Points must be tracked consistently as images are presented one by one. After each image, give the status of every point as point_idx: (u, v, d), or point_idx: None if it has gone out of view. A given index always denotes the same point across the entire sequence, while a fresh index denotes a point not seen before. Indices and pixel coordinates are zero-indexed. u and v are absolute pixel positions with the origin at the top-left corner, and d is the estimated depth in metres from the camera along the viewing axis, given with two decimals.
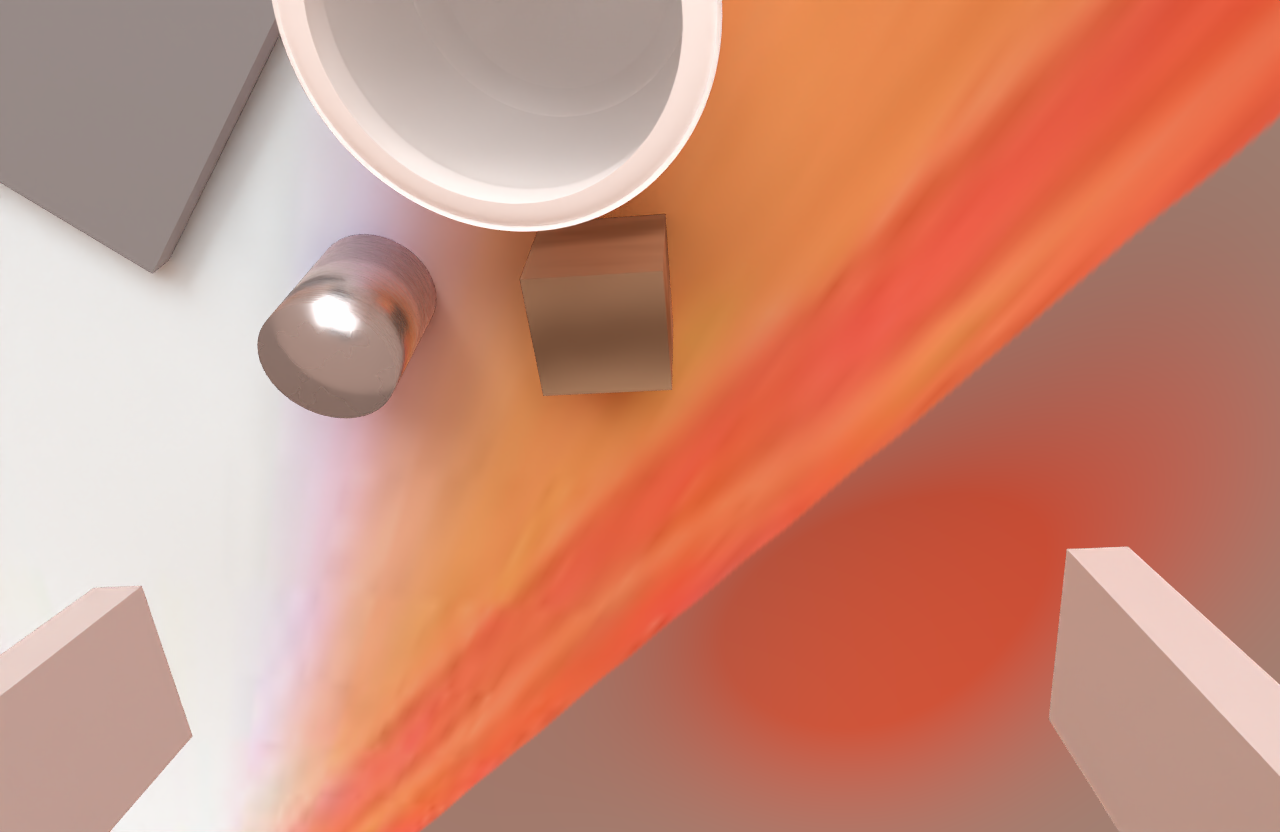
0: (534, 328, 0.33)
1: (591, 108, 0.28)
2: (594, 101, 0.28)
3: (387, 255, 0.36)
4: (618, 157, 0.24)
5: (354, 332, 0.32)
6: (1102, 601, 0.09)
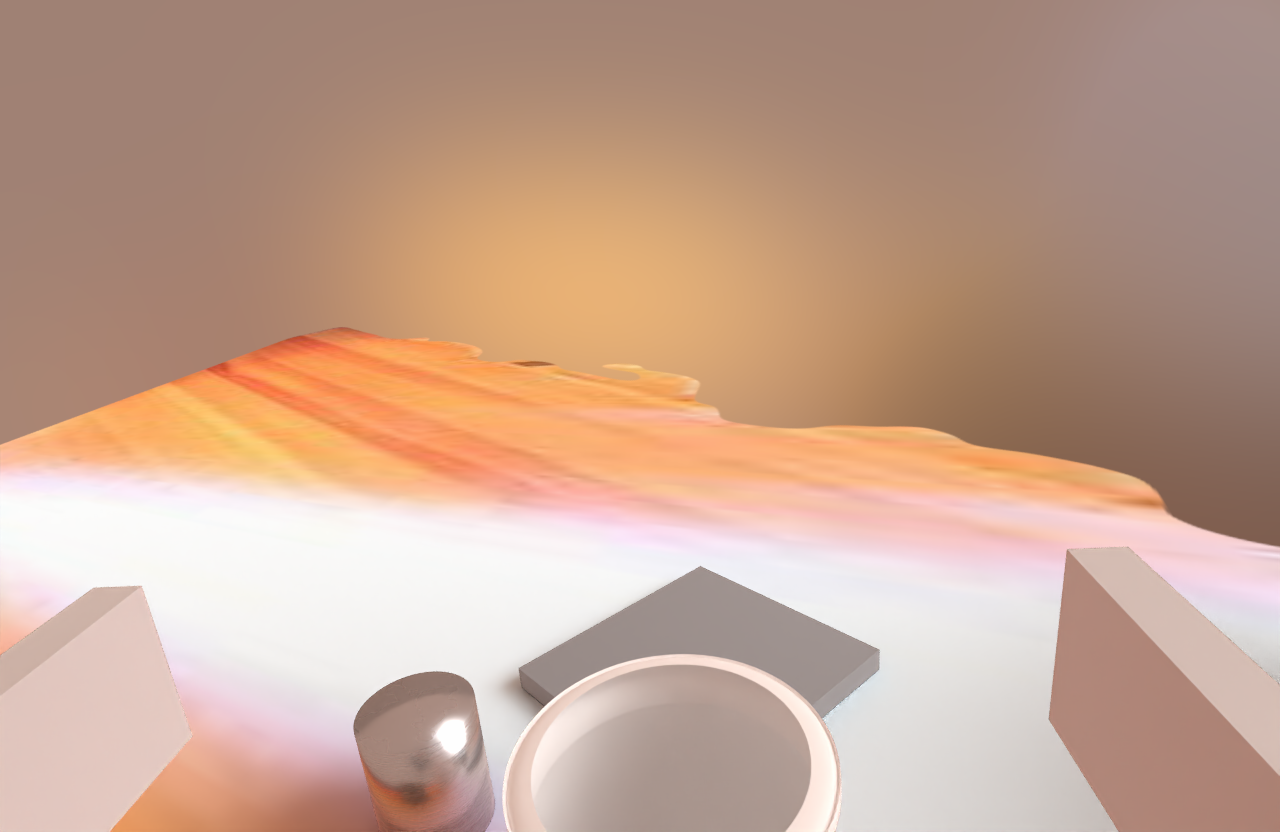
0: None
1: None
2: None
3: (470, 820, 0.39)
4: None
5: (432, 733, 0.37)
6: (1102, 601, 0.09)
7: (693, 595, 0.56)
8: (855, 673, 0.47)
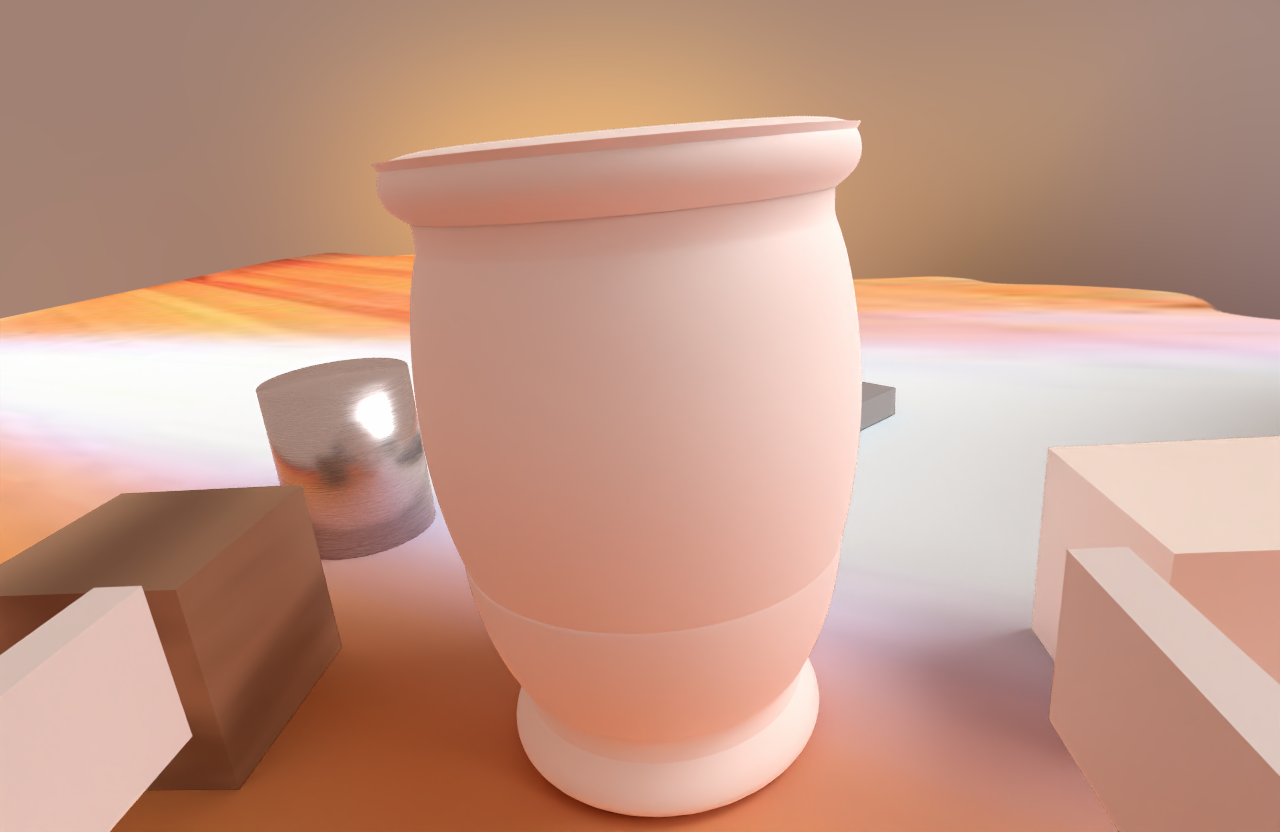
0: (225, 491, 0.23)
1: None
2: None
3: (400, 511, 0.32)
4: None
5: (350, 386, 0.30)
6: (1102, 601, 0.09)
7: None
8: (867, 405, 0.40)
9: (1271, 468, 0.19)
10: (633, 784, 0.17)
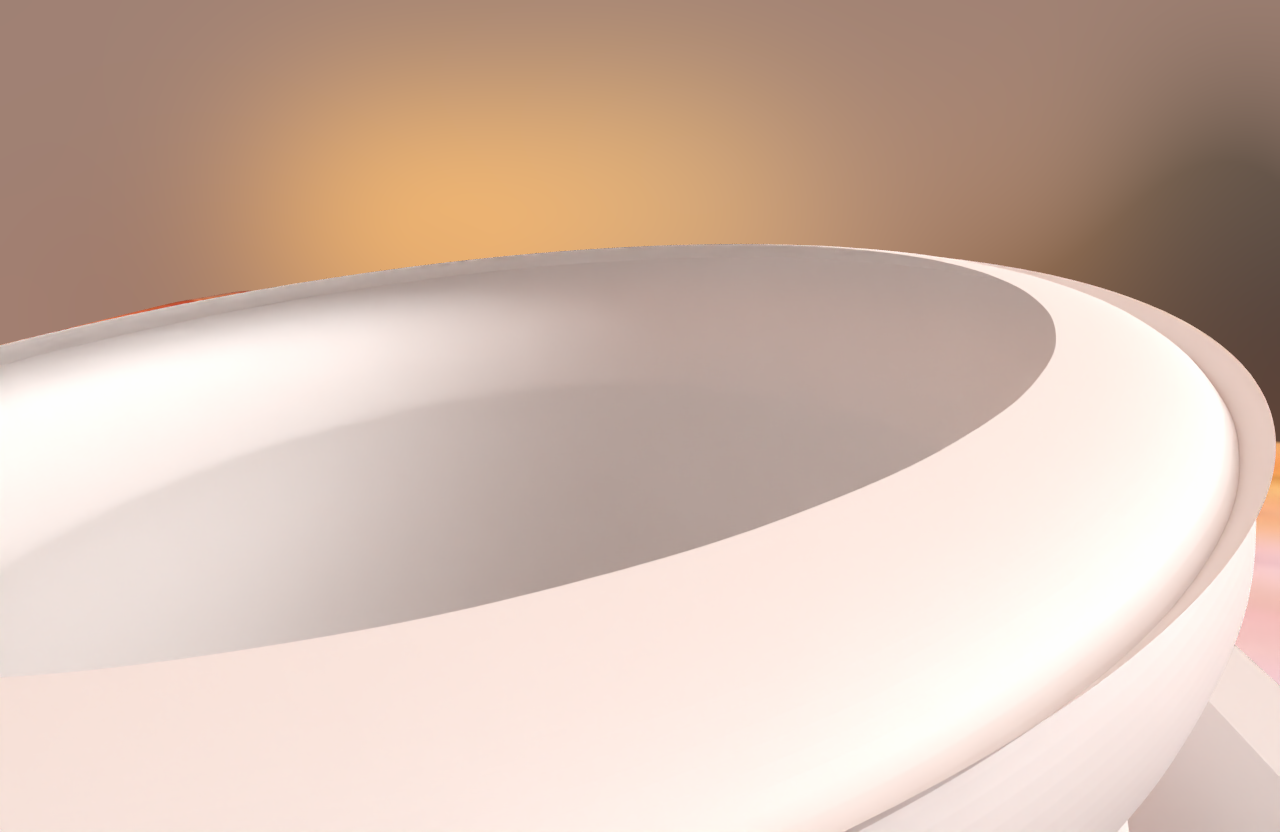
0: None
1: None
2: None
3: None
4: None
5: None
6: None
7: None
8: None
9: None
10: None
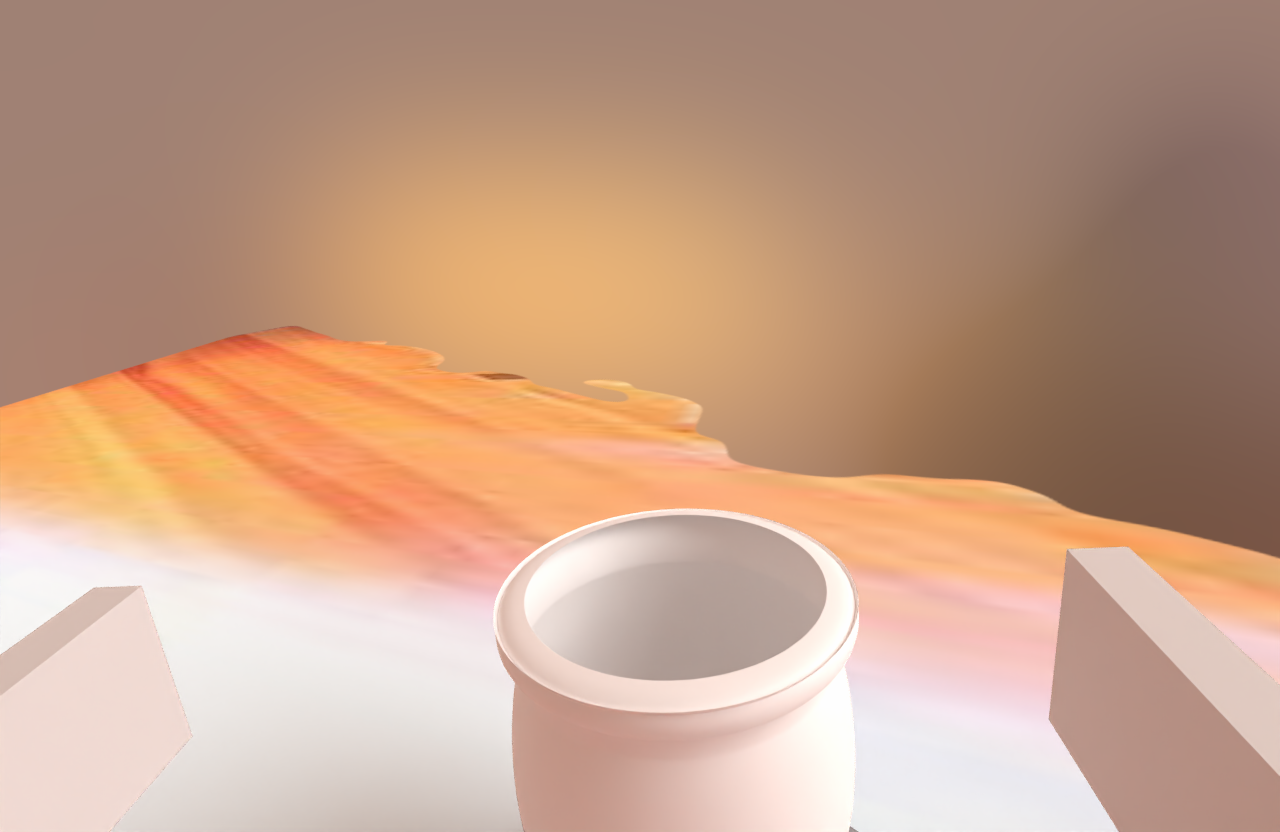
0: None
1: None
2: None
3: None
4: (514, 760, 0.22)
5: None
6: (1102, 601, 0.09)
7: None
8: None
9: None
10: None
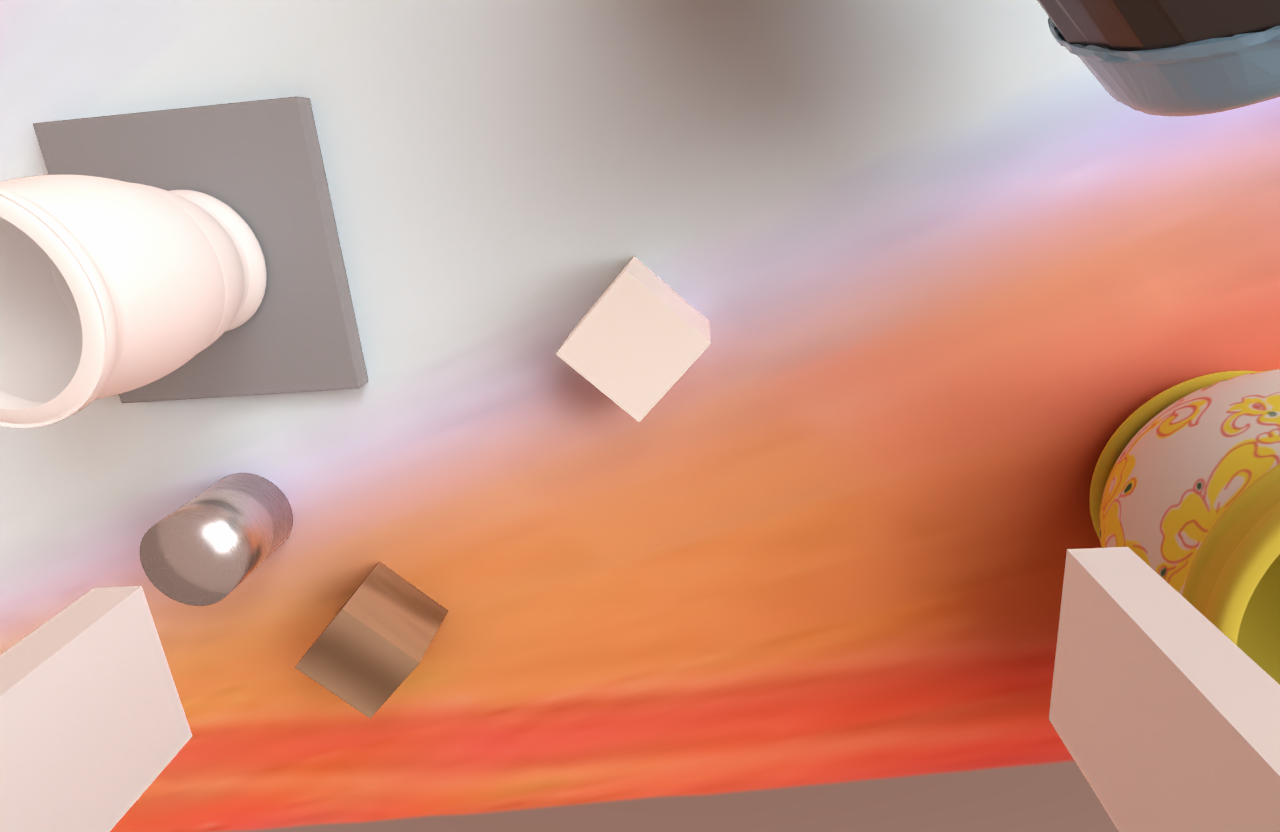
0: (325, 634, 0.49)
1: None
2: None
3: (278, 512, 0.51)
4: None
5: (224, 564, 0.46)
6: (1102, 601, 0.09)
7: None
8: (309, 146, 0.43)
9: (636, 318, 0.41)
10: (243, 315, 0.46)
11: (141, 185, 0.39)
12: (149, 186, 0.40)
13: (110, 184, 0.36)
